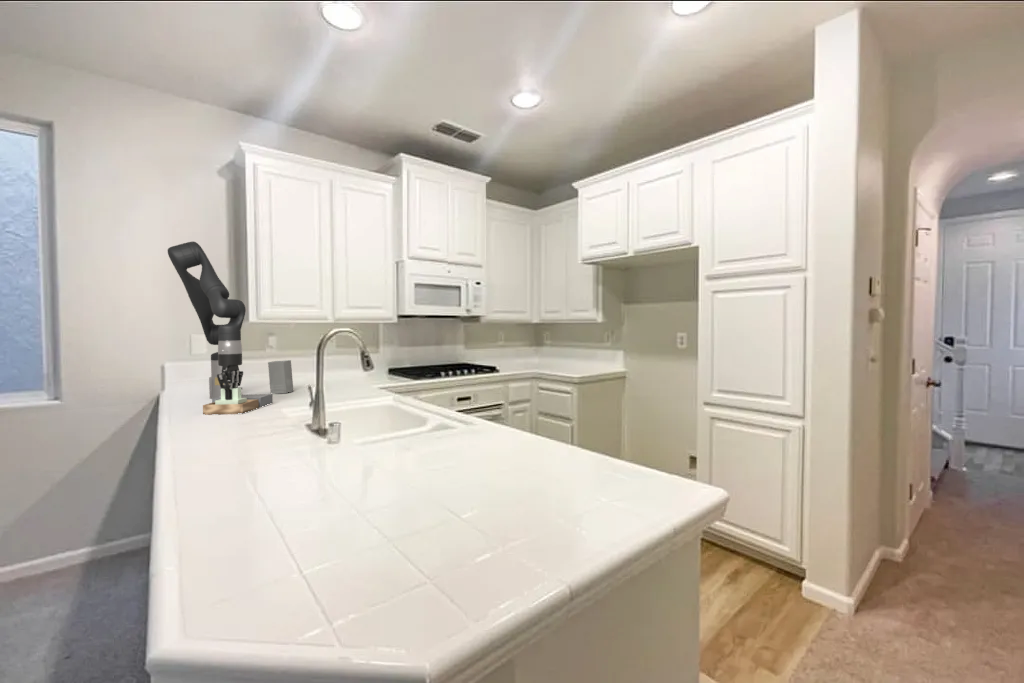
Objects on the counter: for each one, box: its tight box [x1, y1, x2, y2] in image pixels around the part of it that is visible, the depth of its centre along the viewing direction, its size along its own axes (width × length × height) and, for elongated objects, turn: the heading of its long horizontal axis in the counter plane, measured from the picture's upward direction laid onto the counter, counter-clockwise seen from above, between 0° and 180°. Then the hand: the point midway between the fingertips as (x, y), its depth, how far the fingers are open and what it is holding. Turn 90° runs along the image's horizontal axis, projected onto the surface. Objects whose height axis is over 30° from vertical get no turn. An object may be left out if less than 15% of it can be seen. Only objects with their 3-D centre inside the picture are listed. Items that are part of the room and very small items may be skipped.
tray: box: [202, 399, 260, 416], centre depth 163 cm, size 14×12×4 cm
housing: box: [211, 393, 274, 408], centre depth 175 cm, size 18×10×4 cm, turn 95°
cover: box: [215, 388, 247, 405], centre depth 163 cm, size 6×8×6 cm
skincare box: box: [267, 360, 294, 394], centre depth 213 cm, size 8×7×16 cm
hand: (231, 398), depth 163 cm, fingers closed on cover, 2 cm apart
